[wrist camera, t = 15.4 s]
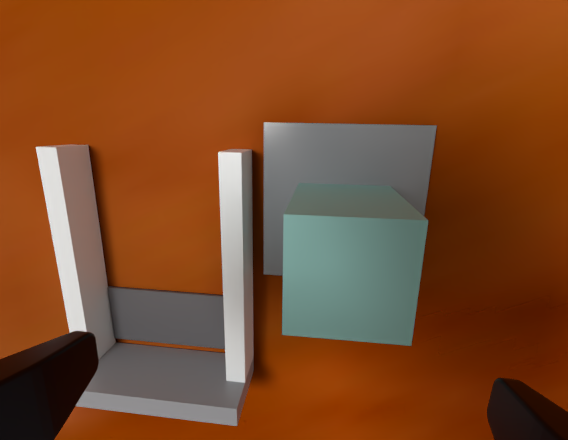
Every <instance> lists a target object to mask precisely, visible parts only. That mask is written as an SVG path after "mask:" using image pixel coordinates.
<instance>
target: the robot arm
mask: <svg viewBox="0 0 568 440" xmlns="http://www.w3.org/2000/svg"><path fill="white" fill-rule="evenodd" d="M98 364H99V359H98V352H97V344H96V338H95V335H94V334H93V333H91V332H84V331H74V332H71V333H68V334H65V335H63V336H60V337H58V338H55V339H52V340H50V341H47V342H44V343H42V344H39V345H37V346H34V347H31V348H29V349H26V350H24V351H21V352H18V353H16V354H13V355H10V356H8V357H5V358H3V359H0V440H54V439H55V437H56V436H57V434H58V433H59V431H60V430H61V428H62V427H63V425H64V423H65V422H66V420H67V419H68V417H69V415H70V414H71V412H72V410H73V409H74V407H75V406H76V404H77V402H78V401H79V399H80V398H81V396H82V394H83V393H84V391H85V390H86V388H87V386H88V385H89V383H90V381H91V380H92V378H93V377H94V375H95V373H96V371H97V369H98ZM487 417H488V422H489V425H490V428H491V431H492V433H493V436H494V439H495V440H568V412H567V411H565V410H564V409H562V408H561V407H559V406H558V405H556V404H555V403H553V402H552V401H550V400H549V399H547V398H546V397H544V396H543V395H541V394H540V393H538V392H537V391H535V390H534V389H532V388H530V387H529V386H527V385H526V384H524V383H523V382H521V381H519V380H516V379H507V378H498V379H496V380H495V381H494V384H493V388H492V392H491V396H490V400H489V404H488V408H487Z"/></svg>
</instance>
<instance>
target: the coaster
mask: <svg viewBox="0 0 568 440" xmlns="http://www.w3.org/2000/svg"><path fill="white" fill-rule="evenodd" d="M436 127H437V126H436V125H379V124H322V123H266V122H264V274H266V275H280V276H283V221H284V212H285V210H286V208H287V206H288V204H289V202H290V200H291V198H292V196H293V194H294V192H295V190H296V188H297V186H298V184H299V183H312V184H344V185H375V186H391V187H392V188H393V189H394V190H395V191H396V192H397V193H399V194H400V195H401V196H402V197H403V198H404V199H405V200H406V201H407V202H408V203H410V204H411V205H412V206H413V207H414V208H415V209H416V210H417V211H418V212H420V213H421V214H422V215H423V216H424V214H425V206H426V199H427V192H428V185H429V178H430V171H431V163H432V156H433V149H434V142H435V135H436Z"/></svg>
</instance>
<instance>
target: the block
mask: <svg viewBox="0 0 568 440" xmlns="http://www.w3.org/2000/svg"><path fill="white" fill-rule="evenodd" d="M427 228H428V220H427V219H426V218H425V217H424V216H423V215H422V214H421V213H420V212H418V211H417V210H416V209H415V208H414V207H413V206H412V205H411V204H410V203H408V202H407V201H406V200H405V199H404V198H403V197H402V196H401V195H400V194H399V193H397V192H396V191H395V190H394V189H393V188H392V187H391V186H375V185H344V184H312V183H299V184H298V186H297V188H296V190H295V192H294V194H293V196H292V198H291V200H290V202H289V204H288V206H287V208H286V210H285V212H284V221H283V302H282V335H290V336H302V337H314V338H325V339H337V340H349V341H360V342H372V343H384V344H395V345H407V346H411V344H412V337H413V330H414V323H415V315H416V308H417V301H418V293H419V286H420V279H421V271H422V264H423V257H424V249H425V242H426V235H427Z"/></svg>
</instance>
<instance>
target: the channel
mask: <svg viewBox="0 0 568 440" xmlns="http://www.w3.org/2000/svg"><path fill="white" fill-rule="evenodd" d="M36 151H37V156H38V162H39V167H40V173H41V178H42V184H43V189H44V195H45V200H46V205H47V211H48V216H49V222H50V227H51V233H52V238H53V244H54V249H55V255H56V260H57V266H58V271H59V277H60V282H61V287H62V293H63V298H64V304H65V309H66V315H67V320H68V326H69V331H70V333H71V332H74V331H84V332H91V333H93V334H94V335H95V338H96V344H97V352H98V359H99V364H98V369H97V371H96V373H95V375H94V377H93V378H92V380H91V381H90V383H89V385H88V386H87V388H86V390H85V391H84V393H83V394H82V396H81V398H80V399H79V401H78V402H77V404H76V406H79V407H87V408H95V409H103V410H112V411H120V412H128V413H136V414H144V415H152V416H160V417H168V418H176V419H184V420H192V421H200V422H208V423H216V424H224V425H232V426H237V425H238V422H239V418H240V415H241V412H242V408H243V405H244V401H245V398H246V395H247V391H248V388H249V385H250V381H251V378H252V375H253V371H254V344H253V218H252V150H250V149H229V150H225V151H220V152H218V162H219V190H220V218H221V246H222V275H223V295H214V294H201V293H188V292H176V291H163V290H150V289H138V288H125V287H112V286H109V287H108V283H107V276H106V269H105V262H104V255H103V247H102V240H101V233H100V226H99V219H98V212H97V205H96V198H95V190H94V183H93V176H92V169H91V162H90V155H89V148H88V145H56V146H41V147H36ZM115 338H118V339H128V340H138V341H148V342H159V343H169V344H179V345H189V346H200V347H210V348H220V349H225V353H218V352H208V351H198V350H188V349H178V348H168V347H158V346H148V345H138V344H128V343H118V342H116V340H115Z"/></svg>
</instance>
